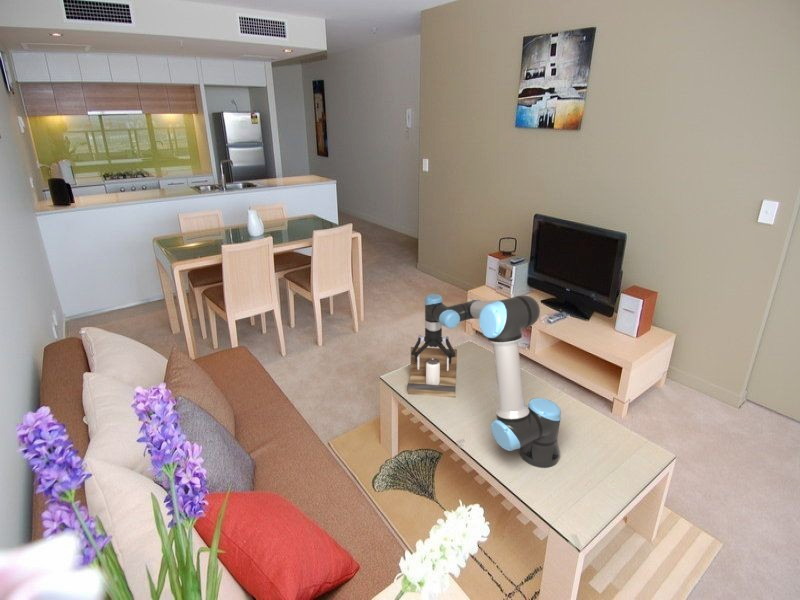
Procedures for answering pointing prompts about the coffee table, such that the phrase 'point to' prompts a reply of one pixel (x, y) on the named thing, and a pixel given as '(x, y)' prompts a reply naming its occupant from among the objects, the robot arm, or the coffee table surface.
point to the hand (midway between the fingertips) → (433, 368)
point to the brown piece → (446, 377)
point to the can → (432, 371)
